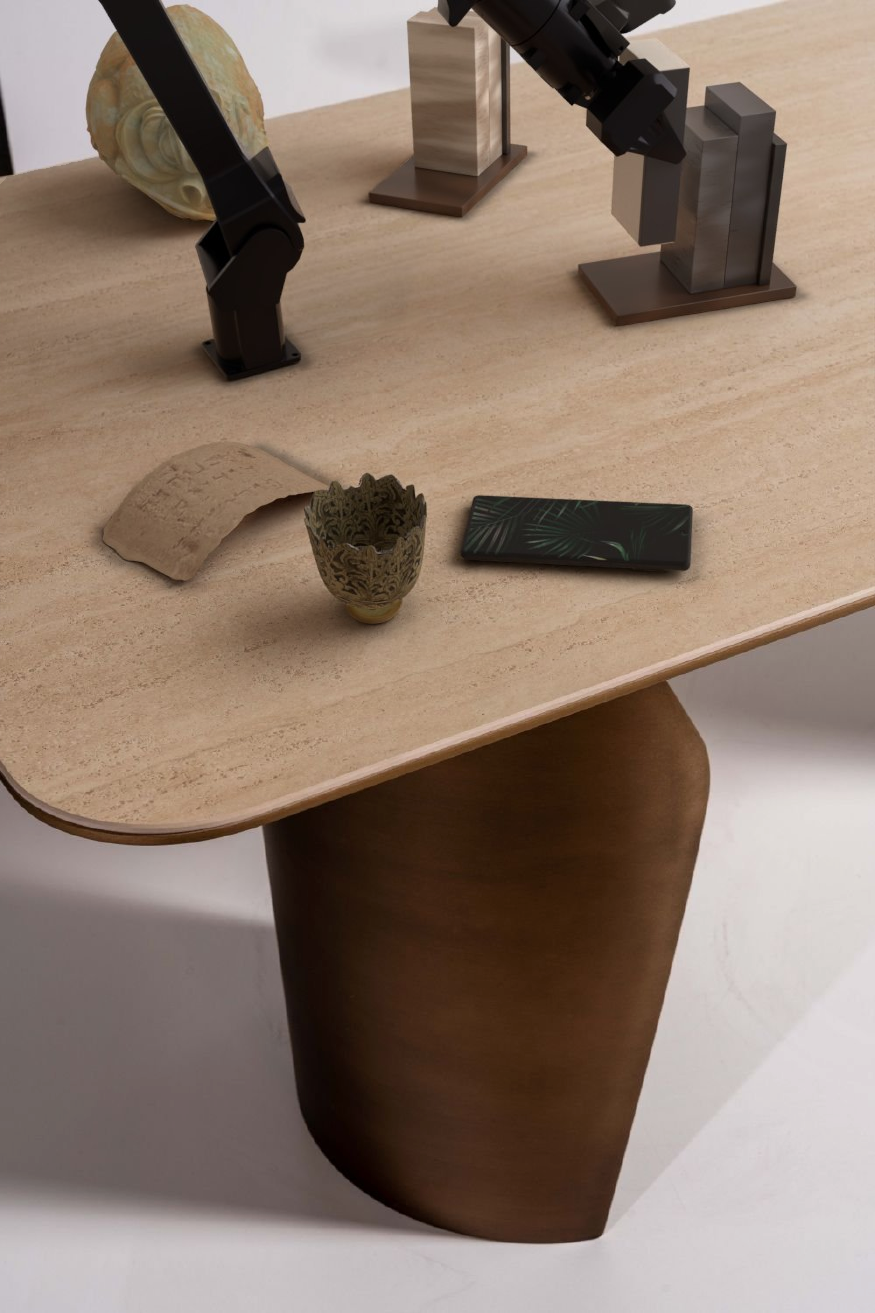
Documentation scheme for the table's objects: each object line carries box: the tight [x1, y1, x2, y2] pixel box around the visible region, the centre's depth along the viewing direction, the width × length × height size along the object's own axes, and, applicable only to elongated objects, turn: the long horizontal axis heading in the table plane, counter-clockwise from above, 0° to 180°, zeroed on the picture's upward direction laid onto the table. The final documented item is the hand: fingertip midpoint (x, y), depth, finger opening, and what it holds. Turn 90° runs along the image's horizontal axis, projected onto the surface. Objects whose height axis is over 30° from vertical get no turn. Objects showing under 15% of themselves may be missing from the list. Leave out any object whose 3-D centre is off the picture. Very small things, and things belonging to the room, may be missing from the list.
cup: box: [303, 472, 428, 625], centre depth 88 cm, size 8×7×8 cm
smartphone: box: [459, 494, 694, 573], centre depth 95 cm, size 7×1×15 cm
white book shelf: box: [368, 6, 528, 218], centre depth 137 cm, size 16×10×15 cm, turn 154°
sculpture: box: [85, 3, 270, 222], centre depth 136 cm, size 18×20×20 cm
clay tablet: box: [102, 440, 330, 581], centre depth 98 cm, size 14×10×3 cm
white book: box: [610, 37, 691, 248], centre depth 113 cm, size 3×7×14 cm, turn 15°
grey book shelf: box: [577, 81, 798, 327], centre depth 117 cm, size 16×10×16 cm, turn 105°
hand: (664, 141), depth 113 cm, fingers closed on white book, 7 cm apart
